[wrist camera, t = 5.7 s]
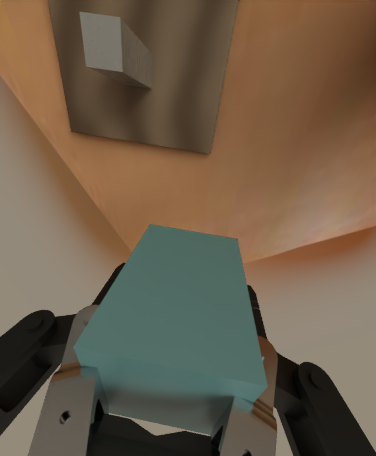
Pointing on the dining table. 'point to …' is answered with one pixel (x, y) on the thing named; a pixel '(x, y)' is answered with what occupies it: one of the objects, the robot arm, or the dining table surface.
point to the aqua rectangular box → (176, 332)
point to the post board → (161, 73)
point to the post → (115, 50)
